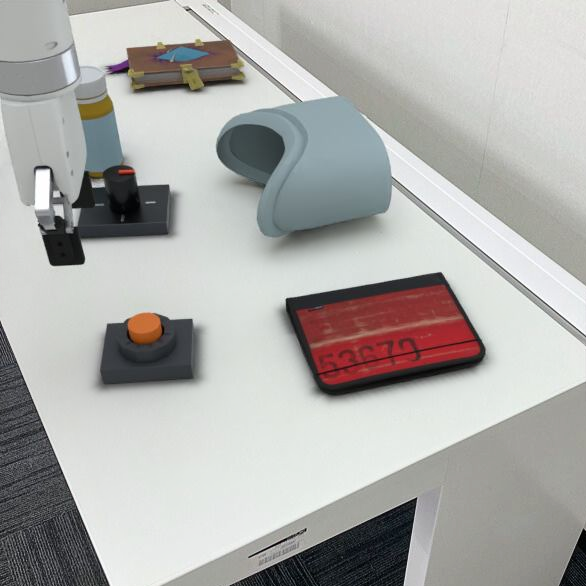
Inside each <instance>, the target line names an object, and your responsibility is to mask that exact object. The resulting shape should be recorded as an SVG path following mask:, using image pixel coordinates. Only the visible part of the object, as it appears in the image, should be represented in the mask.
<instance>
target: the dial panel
mask: <svg viewBox="0 0 586 586" xmlns="http://www.w3.org/2000/svg"><path fill="white" fill-rule="evenodd" d="M170 187H171V186H170V184H169V183H168V184H167V183H166V184H144V185H142V184H141V185H138V190H139V196H140V202H141V203H140V206H139V207H138V208H137V209H135V210H133V211H130V212H124V213H121V212H115V211H113V210H111V209H110V208H109V204H108V199H107V194H106V190H105V186H95V187H93V186H92V188H93V193H94V197H95V202H96V203H95V206H94V207H93V208H80V212H79V216H78V221H77V226H78V231H79V235H80V239H93V238H95V239H96V238H114V237H134V236H135V237H136V236H153V235H154V236H155V235H169V225H170V214H171V213H170V211H171V198H172V195H171V188H170Z"/></svg>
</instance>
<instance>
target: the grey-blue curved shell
mask: <svg viewBox="0 0 586 586" xmlns="http://www.w3.org/2000/svg"><path fill="white" fill-rule="evenodd" d="M215 153H216V155H217V158H218V160H219V162H220V163H221V164H222V165H223V166H224V167H225V168H226V169H228V170H229V171H231V172H233V173H234V174H236V175H238V176H241V177H242V178H245V179H248V180H250V181H253V182H255V183H259V184H263V185H265V187H264V188H263V191H262V194H261V196H260V198H259V200H258V201H259V202H258V205H257V210H256V223H257V226H258V228H259V230H260V232H261V234H262V235H263V236H265V237H268V238H274V239H275V238H280V237H284V236H286V235H288V234H290V233H292V232H294V231H305V230H310V229H311V230H312V229H315V228H321V227H324V226H330V225H333V224H337V223H343V222H347V221H351V220H357V219H361V218H366V217H370V216H375V215H379V214H385V213H387V211H388V210H389V208H390V205H391V201H392V193H393V176H392V175H393V174H392V166H391V162H390V157H389V154H388V151H387V148H386V146H385V143H384V141H383V139H382V137H381V136H380V134H379V133H378V131H377V130H376V129H375V128H374V126H373V125H372V124H371V123H370V122H369V121H368V120H367V118H366V117H365V116H364V115H363V114H362V113H361V112H360V110H358V109H357V107H356V106H355V105H353V103H352V102H351V101H350V100H349V99H348V98H347V97H345V95H334V96H329V97H321V98H317V99H310V100H304V101H297V102H292V103H287V104H282V105H278V106H274V107H266V108H259V109H254V110H252V111H249V112H242V113H239V114H237V115H234V116H233V117H232V118H231V119H229V120H228V121H227V122H226V123H225V124H224V125H223V127H222V128H221V130H220V131H219V134H218V136H217V138H216V143H215Z"/></svg>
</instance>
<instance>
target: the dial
mask: <svg viewBox="0 0 586 586" xmlns="http://www.w3.org/2000/svg"><path fill="white" fill-rule="evenodd" d="M135 170H136V169H135V168H133V167H132V166H129V165H125V164H123V165H117V166H112V167H109V168H107V169H106V170H105V171H104V172H103V177H102V179H103V184H104V187H105V190H106V194H107V199H108V204H109V208H110V209H111V210H113V211H115V212H121V213H124V212H130V211H133V210H135V209H137V208H138V207H139V206H140V203H141V202H140V196H139V190H138V186H139V185H138V180H137V175H136V173H137V172H136V171H135Z"/></svg>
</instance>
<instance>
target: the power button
mask: <svg viewBox="0 0 586 586" xmlns="http://www.w3.org/2000/svg"><path fill="white" fill-rule="evenodd" d="M153 313H154V312H140V313H136V314H135V315H133V316H131V317H132V318H131V317H130V318H131V319H130V320H129V321H128V330H129V334H130V338H131V340H132V341H133V342H135V343H137V344H150V343H152V342H155V341H157V340H158V339H160V337H161V335H162V328H161V322H160V319H159V317H158V316H157V315H155V314H153Z"/></svg>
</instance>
